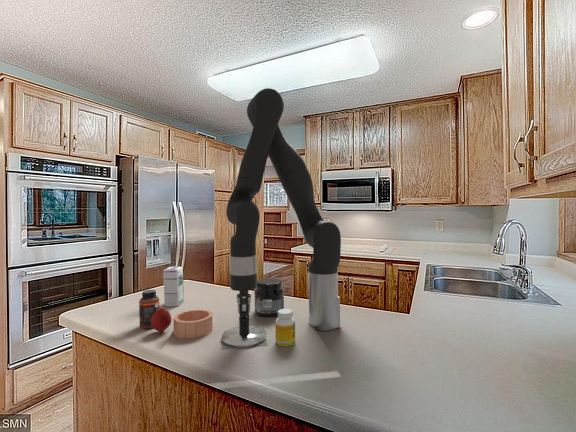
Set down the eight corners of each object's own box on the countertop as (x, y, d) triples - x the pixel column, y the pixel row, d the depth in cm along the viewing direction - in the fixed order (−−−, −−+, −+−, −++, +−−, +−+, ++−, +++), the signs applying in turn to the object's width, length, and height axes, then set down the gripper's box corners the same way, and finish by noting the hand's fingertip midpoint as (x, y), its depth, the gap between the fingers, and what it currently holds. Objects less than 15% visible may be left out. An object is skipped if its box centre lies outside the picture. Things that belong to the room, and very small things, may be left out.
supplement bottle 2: (276, 341, 86) (275, 307, 85) (295, 341, 86) (294, 307, 85) (275, 350, 80) (274, 314, 80) (295, 350, 80) (295, 314, 80)
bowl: (214, 325, 98) (213, 308, 98) (210, 339, 87) (210, 320, 87) (178, 327, 96) (178, 310, 96) (170, 343, 85) (170, 323, 85)
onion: (165, 326, 97) (165, 302, 97) (175, 331, 94) (174, 305, 93) (147, 332, 93) (146, 306, 92) (157, 337, 89) (156, 310, 89)
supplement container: (274, 307, 115) (274, 276, 114) (290, 316, 106) (289, 281, 105) (249, 313, 109) (248, 280, 108) (263, 322, 100) (263, 286, 100)
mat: (264, 331, 93) (264, 327, 93) (267, 349, 81) (267, 345, 81) (224, 334, 91) (223, 330, 91) (221, 352, 79) (221, 349, 79)
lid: (264, 327, 93) (264, 308, 93) (268, 345, 81) (267, 323, 81) (223, 330, 91) (223, 310, 91) (220, 349, 79) (220, 326, 79)
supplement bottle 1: (163, 325, 98) (162, 290, 98) (144, 331, 94) (143, 294, 94) (155, 321, 102) (154, 287, 102) (136, 326, 98) (135, 291, 98)
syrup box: (179, 306, 118) (178, 269, 117) (163, 306, 118) (162, 269, 117) (184, 301, 123) (183, 266, 123) (169, 302, 123) (168, 266, 123)
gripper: (258, 276, 79) (259, 342, 80) (255, 266, 93) (256, 322, 94) (228, 277, 78) (230, 344, 79) (230, 267, 92) (231, 323, 92)
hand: (244, 331), depth 86 cm, fingers closed on lid, 2 cm apart
